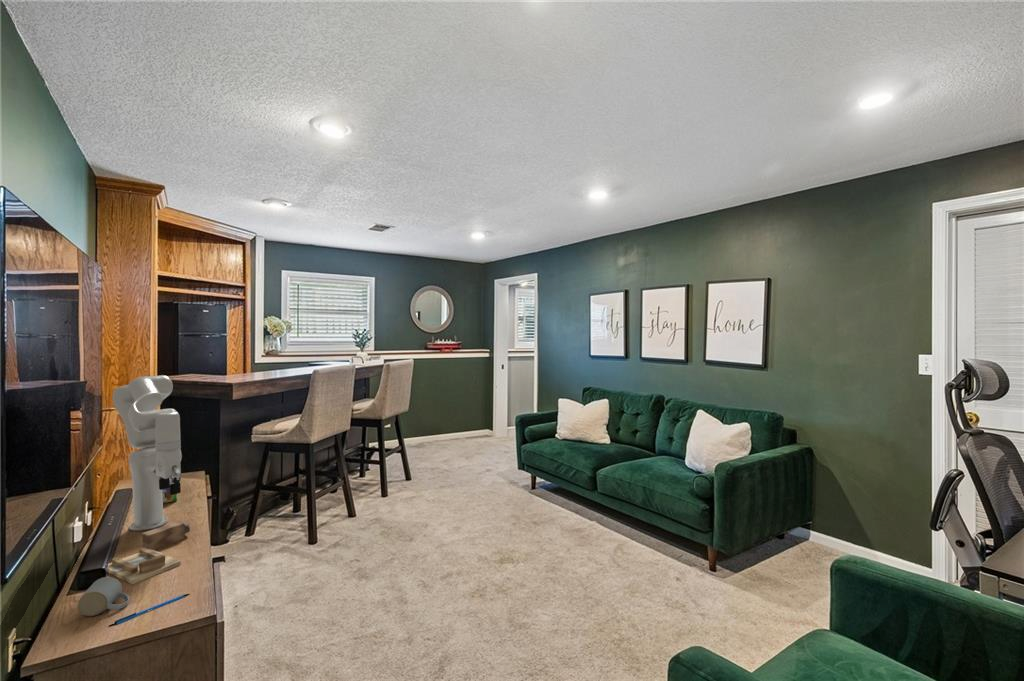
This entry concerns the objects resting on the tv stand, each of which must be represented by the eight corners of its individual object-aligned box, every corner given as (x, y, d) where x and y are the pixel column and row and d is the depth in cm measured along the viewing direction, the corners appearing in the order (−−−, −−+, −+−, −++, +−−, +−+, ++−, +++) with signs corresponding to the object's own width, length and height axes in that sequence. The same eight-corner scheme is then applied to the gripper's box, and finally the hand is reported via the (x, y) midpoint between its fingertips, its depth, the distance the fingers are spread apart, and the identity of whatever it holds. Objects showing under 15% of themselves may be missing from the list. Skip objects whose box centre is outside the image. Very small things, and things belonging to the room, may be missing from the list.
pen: (108, 627, 129) (108, 623, 129) (189, 594, 144) (189, 591, 144) (109, 628, 128) (109, 624, 128) (190, 595, 143) (190, 591, 143)
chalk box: (176, 501, 221) (175, 470, 221) (152, 505, 217) (150, 473, 216) (179, 495, 229) (177, 465, 229) (155, 499, 225) (154, 468, 224)
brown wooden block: (149, 552, 172) (148, 535, 171) (142, 549, 174) (142, 533, 174) (190, 536, 184) (190, 521, 184) (184, 534, 186) (183, 519, 186)
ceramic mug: (75, 620, 131) (74, 593, 131) (91, 604, 139) (90, 578, 139) (121, 613, 134) (121, 586, 134) (134, 597, 142) (134, 572, 142)
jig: (102, 569, 159) (101, 557, 159) (150, 551, 171) (150, 540, 171) (132, 584, 149) (131, 571, 149) (180, 564, 162) (180, 552, 162)
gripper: (147, 444, 178) (148, 489, 179) (166, 451, 168) (167, 499, 169) (170, 440, 184) (171, 484, 185) (189, 446, 174) (191, 493, 175)
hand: (169, 491), depth 177 cm, fingers open, 9 cm apart
